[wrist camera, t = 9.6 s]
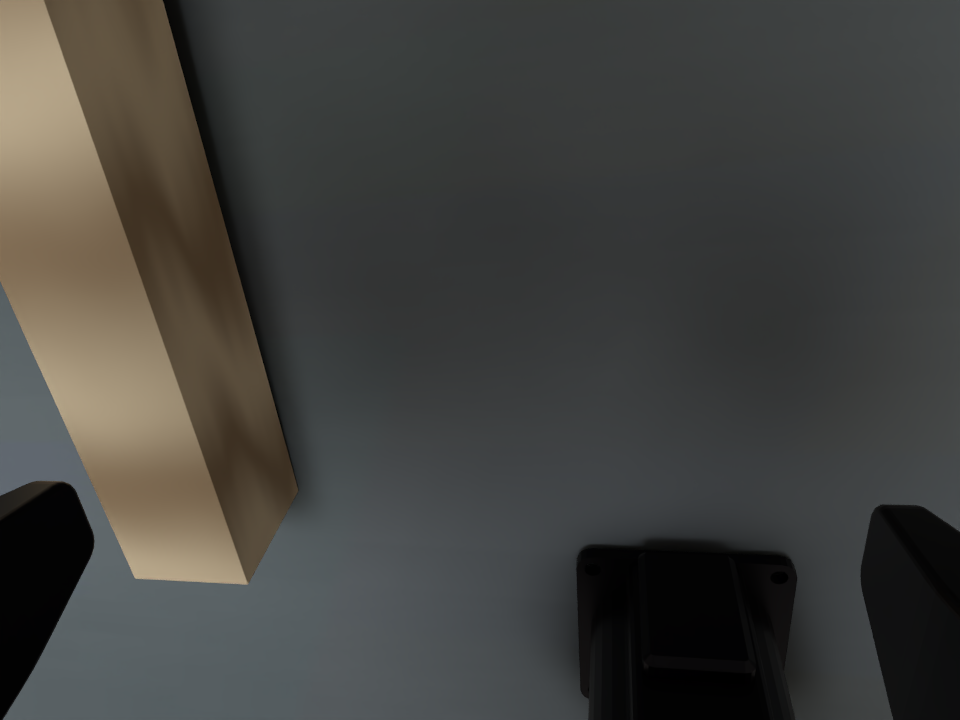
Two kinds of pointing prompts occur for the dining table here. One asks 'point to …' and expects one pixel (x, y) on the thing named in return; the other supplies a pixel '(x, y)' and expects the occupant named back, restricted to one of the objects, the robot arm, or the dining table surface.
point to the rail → (135, 288)
